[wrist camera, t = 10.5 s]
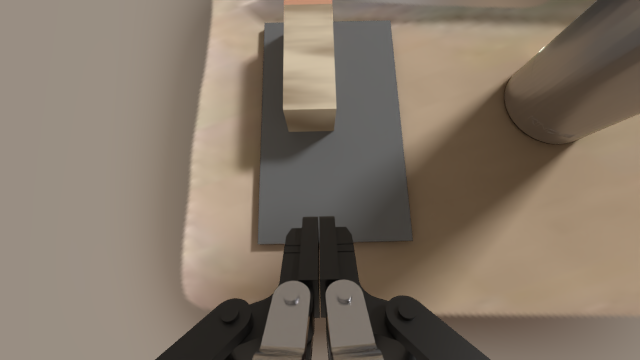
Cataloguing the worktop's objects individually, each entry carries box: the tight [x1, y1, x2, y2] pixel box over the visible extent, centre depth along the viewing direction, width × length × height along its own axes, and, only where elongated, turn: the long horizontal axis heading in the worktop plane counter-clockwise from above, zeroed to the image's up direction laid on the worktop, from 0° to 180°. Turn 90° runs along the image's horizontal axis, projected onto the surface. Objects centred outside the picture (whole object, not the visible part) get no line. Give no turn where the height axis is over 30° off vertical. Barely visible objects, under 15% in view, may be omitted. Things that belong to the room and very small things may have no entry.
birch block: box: [283, 0, 337, 132], centre depth 27 cm, size 4×4×12 cm
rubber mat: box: [258, 21, 413, 244], centre depth 28 cm, size 24×14×1 cm, turn 1°
